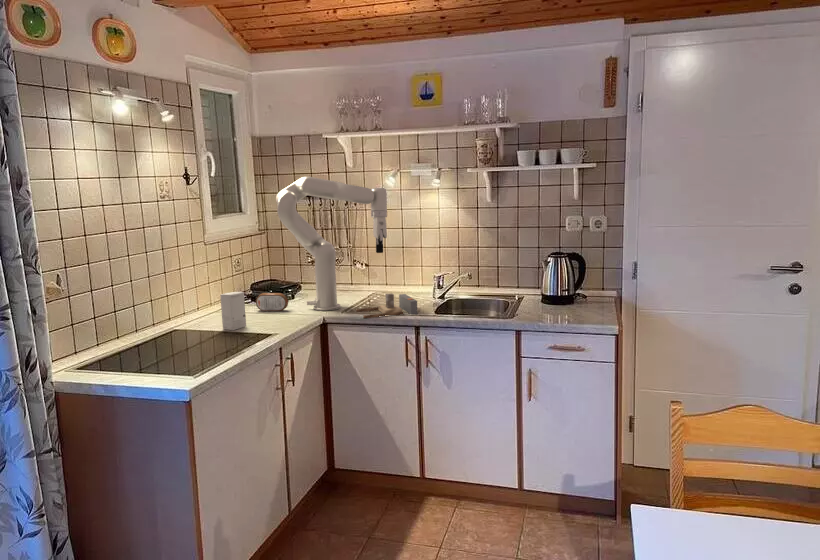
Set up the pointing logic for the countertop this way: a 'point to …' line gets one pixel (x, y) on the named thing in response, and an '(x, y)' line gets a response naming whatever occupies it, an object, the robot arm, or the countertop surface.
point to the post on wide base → (389, 305)
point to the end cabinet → (407, 304)
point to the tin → (271, 302)
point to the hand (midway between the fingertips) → (379, 252)
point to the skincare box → (233, 310)
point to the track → (376, 314)
